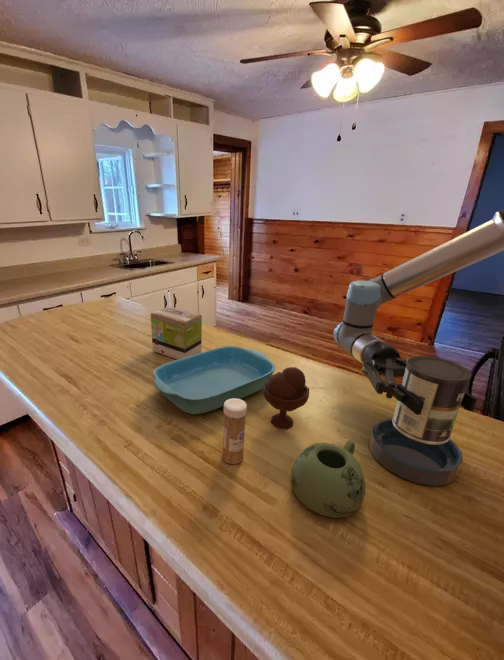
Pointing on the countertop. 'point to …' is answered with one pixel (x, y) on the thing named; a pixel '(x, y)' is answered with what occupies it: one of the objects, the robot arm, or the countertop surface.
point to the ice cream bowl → (286, 394)
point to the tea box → (176, 332)
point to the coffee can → (431, 399)
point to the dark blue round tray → (414, 456)
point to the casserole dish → (213, 377)
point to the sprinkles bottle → (234, 430)
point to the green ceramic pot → (329, 479)
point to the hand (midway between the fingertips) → (447, 406)
